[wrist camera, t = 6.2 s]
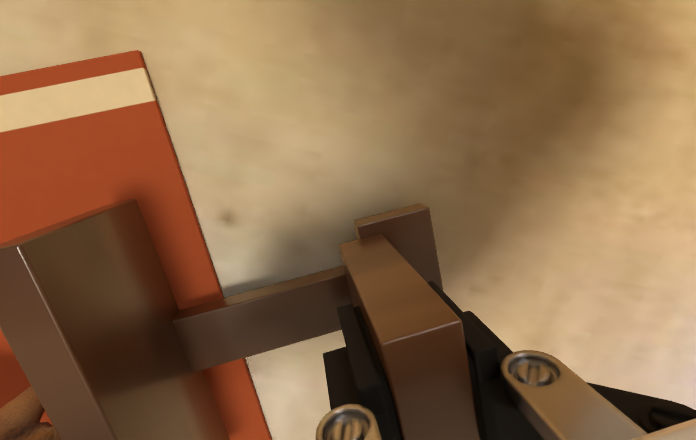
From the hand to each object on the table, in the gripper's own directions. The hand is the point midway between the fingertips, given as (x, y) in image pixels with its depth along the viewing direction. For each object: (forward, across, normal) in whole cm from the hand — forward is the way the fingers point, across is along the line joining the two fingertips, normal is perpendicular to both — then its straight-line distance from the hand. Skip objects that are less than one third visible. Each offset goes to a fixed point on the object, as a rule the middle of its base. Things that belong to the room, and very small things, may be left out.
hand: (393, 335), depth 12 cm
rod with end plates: (+4, +3, 0) cm, 5 cm away
